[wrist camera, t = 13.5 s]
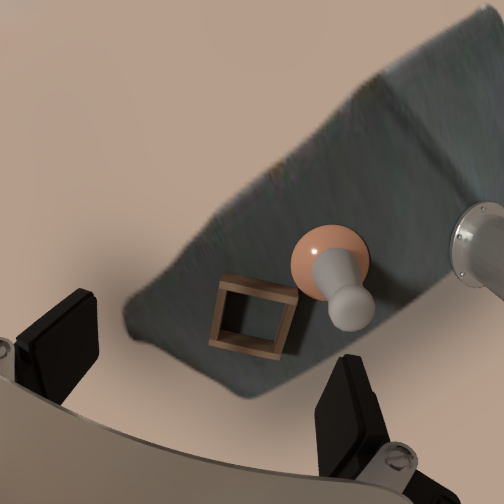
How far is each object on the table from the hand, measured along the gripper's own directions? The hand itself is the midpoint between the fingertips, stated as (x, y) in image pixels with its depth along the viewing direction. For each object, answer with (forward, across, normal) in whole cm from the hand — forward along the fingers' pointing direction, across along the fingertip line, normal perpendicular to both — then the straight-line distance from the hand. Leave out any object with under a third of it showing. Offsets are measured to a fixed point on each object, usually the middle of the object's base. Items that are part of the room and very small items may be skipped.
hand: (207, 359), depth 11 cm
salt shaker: (+28, -10, +4) cm, 30 cm away
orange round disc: (+28, -10, +4) cm, 30 cm away
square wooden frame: (+28, -2, +13) cm, 31 cm away
